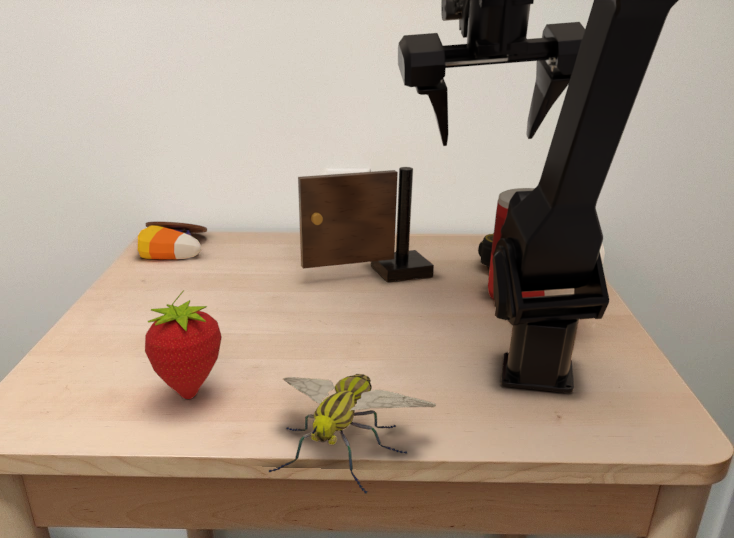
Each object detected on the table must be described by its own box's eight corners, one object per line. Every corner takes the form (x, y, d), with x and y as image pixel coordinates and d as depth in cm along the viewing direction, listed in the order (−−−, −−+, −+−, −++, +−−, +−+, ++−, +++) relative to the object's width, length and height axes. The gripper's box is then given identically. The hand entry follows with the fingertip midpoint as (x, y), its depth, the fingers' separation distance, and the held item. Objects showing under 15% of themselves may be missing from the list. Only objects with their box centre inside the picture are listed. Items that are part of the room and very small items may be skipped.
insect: (439, 425, 63) (444, 371, 60) (399, 502, 54) (402, 445, 51) (295, 397, 66) (292, 345, 63) (237, 466, 58) (231, 410, 55)
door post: (414, 261, 96) (420, 160, 89) (433, 277, 91) (440, 172, 84) (370, 266, 94) (372, 164, 87) (387, 282, 90) (391, 176, 83)
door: (391, 256, 92) (394, 169, 86) (396, 261, 91) (400, 173, 85) (300, 266, 89) (297, 176, 83) (304, 271, 88) (302, 180, 82)
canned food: (534, 281, 91) (549, 185, 84) (566, 306, 84) (584, 205, 78) (475, 286, 89) (486, 189, 82) (503, 312, 83) (516, 209, 76)
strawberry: (240, 384, 68) (231, 277, 63) (199, 424, 63) (184, 310, 57) (183, 374, 70) (169, 268, 64) (138, 411, 64) (117, 299, 58)
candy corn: (133, 261, 95) (193, 270, 94) (130, 239, 93) (191, 247, 92) (152, 242, 100) (210, 250, 99) (149, 220, 98) (208, 228, 97)
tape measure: (542, 267, 95) (547, 237, 93) (515, 281, 90) (519, 250, 88) (495, 255, 98) (498, 226, 96) (467, 269, 94) (470, 238, 92)
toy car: (137, 220, 97) (138, 232, 97) (199, 223, 97) (199, 235, 97) (155, 228, 105) (155, 239, 105) (212, 231, 105) (212, 242, 105)
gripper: (579, -64, 74) (553, 101, 86) (390, -50, 73) (391, 114, 85) (614, -27, 67) (580, 147, 79) (406, -11, 66) (404, 162, 78)
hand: (486, 140), depth 81 cm, fingers open, 9 cm apart
